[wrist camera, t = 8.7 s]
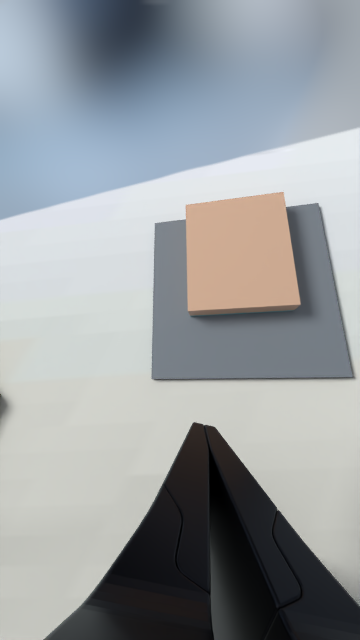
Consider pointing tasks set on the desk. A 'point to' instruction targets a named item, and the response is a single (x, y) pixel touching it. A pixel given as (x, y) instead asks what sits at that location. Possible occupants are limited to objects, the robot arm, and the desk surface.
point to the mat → (249, 317)
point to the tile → (240, 257)
